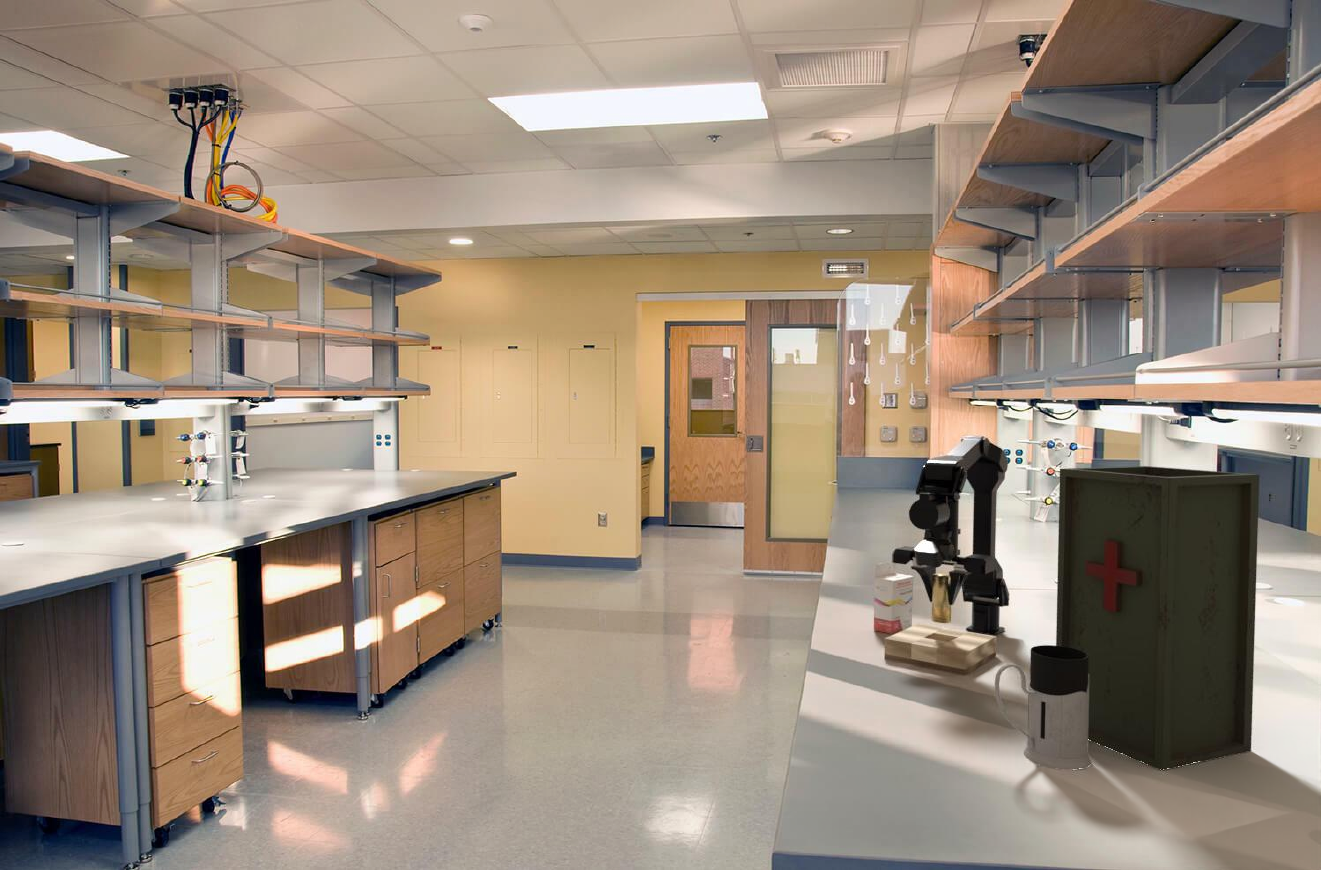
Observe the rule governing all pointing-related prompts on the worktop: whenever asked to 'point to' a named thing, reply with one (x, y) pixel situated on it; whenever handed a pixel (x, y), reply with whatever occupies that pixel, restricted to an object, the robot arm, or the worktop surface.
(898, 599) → the ink cartridge box
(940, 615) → the pin
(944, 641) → the bore block
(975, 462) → the robot arm
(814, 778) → the worktop surface
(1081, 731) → the glass holder
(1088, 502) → the first aid box
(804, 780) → the worktop surface
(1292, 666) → the worktop surface
